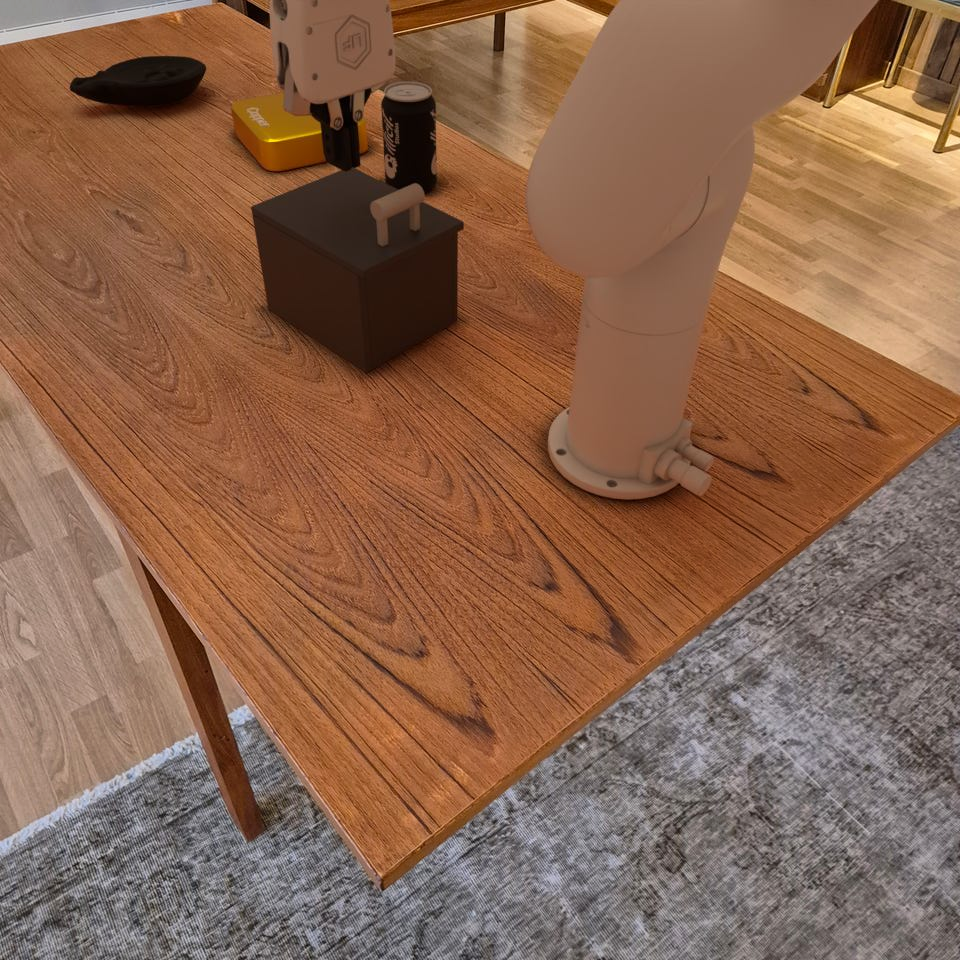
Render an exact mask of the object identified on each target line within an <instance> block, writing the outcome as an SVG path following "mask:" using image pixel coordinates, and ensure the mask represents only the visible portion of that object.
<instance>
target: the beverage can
mask: <svg viewBox="0 0 960 960" xmlns="http://www.w3.org/2000/svg"><path fill="white" fill-rule="evenodd" d="M432 94H433V89H432V87H431V86H429V85H427V84H425V83H423V82H418V81H398V82H394V83H391V84H388V85H387V86H385V87H384V89H383V95H384V96H383V97H382V100H381V103H380V108H381V124H382V125H381V127H382V141H383V143H382V145H383V160H384V163H383V164H384V176H385V177H384V178H385V179H384V180H385V183H386V184H388V185H390V186H392V187H394V188H396V189H398V190H400V189H403V188H405V187H407V186H409V185H412V184H414V183H416V184H419V185H420V186H421V187H422V189H423V191H424V194H425V193H427V192H429V191H430V190H431V189H432V188H433V187H435V184H436V183H437V181H438V170H437V169H438V168H437V167H438V166H437V165H438V164H437V163H438V162H437V102H436V100H435V98H434V96H433V95H432Z"/></svg>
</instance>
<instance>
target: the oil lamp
mask: <svg viewBox="0 0 960 960" xmlns="http://www.w3.org/2000/svg"><path fill="white" fill-rule="evenodd" d="M206 72H207V66H206V63H203V62H202V61H200V60H198V59H196V58H194V57H189V56H179V55H150V56H149V55H148V56H141V57H135V58H130V59H127V60H124V61H120V62H118V63H114V64H112V65H110V66H109V67H107V68H106V69H105V70H98V71H97V72H96V73H95V74H94V75H92V76H86V77H78V76H76V77H74V78H73V79H72V80H71V82H70V85H69V91H70V92H71V93H73V94H75V95H77V96H79V97H81V98H83V99H86V100H89V101H92V102H95V103H100V104H104V105H105V104H107V105H115V106H128V107H129V106H130V107H143V108H152V107H162V106H169V105H173V104H177V103H180V102H182V101H184V100H186V99H188V98H189V97H191V96H192V95H193V93H194V92H195V91H196V90H197V88H198V87H199V85H200V83H201V82H202V80H203V78H204V76H205V74H206Z"/></svg>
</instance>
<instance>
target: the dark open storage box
mask: <svg viewBox="0 0 960 960" xmlns="http://www.w3.org/2000/svg"><path fill="white" fill-rule="evenodd" d="M251 216H252V222H253V228H254V233H255V239H256V245H257V250H258V251H257V252H258V256H259V263H260V268H261V274H262V280H263V286H264V291H265V297H266V304H267V309H268V310H269V311H271V312H272V313H273V314H275V315H276V316H277V317H280V318H281V319H283V320H284V321H286V322H287V323H289V324H290V325H292V326H293V327H294V328H297V329H298V330H299V331H301V332H303V333H304V334H306V335H307V336H308V337H310V338H312V339H314V340H315V341H317V342H318V343H319V344H321V345H323V346H324V347H325V348H327V349H329V351H331V352H333V353H334V354H336V355H338V356H339V357H341V358H342V359H344V360H346V361H347V362H348V363H350V364H352V365H353V366H355V367H356V368H358V369H359V370H360V371H362V372H364V373H366V374H367V373H370V372H371V371H373V370H374V369H376V368H378V367H380V366H381V365H384V364H385V363H387V362H389V361H390V360H392V359H394V358H395V357H397V356H399V355H401V354H402V353H405V352H407V351H408V350H409V349H411V348H413V347H415V346H416V345H419V344H420V343H422V342H424V341H425V340H427V339H429V338H431V337H432V336H434V335H437V333H439V332H441V331H443V330H444V329H446V328H448V327H450V326H452V325H453V324H456V323H457V322H458V309H459V308H458V305H459V304H458V299H459V298H458V297H459V296H458V295H459V294H458V292H459V289H458V285H459V284H458V281H459V279H458V276H459V275H458V274H459V273H458V271H459V270H458V269H459V267H458V265H459V263H458V262H459V253H458V252H459V250H458V249H459V248H458V247H459V232H457V233H455V234H453V235H451V236H449V237H447V238H445V239H443V240H441V241H439V242H437V243H435V244H433V245H431V246H429V247H427V248H425V249H423V250H421V251H419V252H417V253H415V254H412V255H410V256H408V257H406V258H404V259H402V260H400V261H398V262H396V263H394V264H392V265H390V266H388V267H386V268H384V269H382V270H380V271H378V272H376V273H374V274H372V275H370V276H368V277H366V278H362V277H361V276H359V275H357V274H355V273H354V272H352V271H350V270H348V269H347V268H345V267H343V266H341V265H340V264H338V263H336V262H335V261H333V260H331V259H329V258H328V257H326V256H324V255H322V254H321V253H319V252H317V251H316V250H314V249H312V248H310V247H309V246H307V245H305V244H303V243H302V242H300V241H298V240H297V239H295V238H293V237H291V236H290V235H288V234H286V233H284V232H283V231H281V230H279V229H277V228H276V227H274V226H272V225H271V224H269V223H267V222H265V221H264V220H262V219H260V218H258V217H257V216H255V215H253V214H252V215H251Z"/></svg>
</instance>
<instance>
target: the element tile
mask: <svg viewBox="0 0 960 960" xmlns="http://www.w3.org/2000/svg"><path fill="white" fill-rule="evenodd" d="M283 100H284V91H283V92H278V93H271V94H267V95H262V96H261V95H260V96H255V97H250V98H244V99H239V100H235V101H233V102H232V104H231V105H230V111H231V116H232V122H233V127H234V133H235V137H236V138H237V139H238V140H239V141H240V143H242V144H243V146H244V148H246V150H247V151H248V152H249V153H250V154H251V155H252V156H253V158H254V159H255V160H256V161H257V162H258V163H259V164H260V166H261V167H262V168H263V169H264V170H266V171H269V172H275V173H276V172H285V171H289V170H294V169H299V168H303V167H309V166H312V165H319V164H322V163H327V162H326V160H325V156H324V152H323V143H322V134H321V124H320V122H318V121H316V120H315V119H314V118H313V117H312V116H311V115H310V116H294V115H292V114H290V113H288V112H286V111H285V110H284V109H283ZM366 118H367V117H365V115H364V116H363V119H362V120H361V121H360V122H358V132H359V145H360V150H359V151H360V155H362V154H365V153H366V152H367V151H368V149H369V142H368V127H367V119H366Z"/></svg>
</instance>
